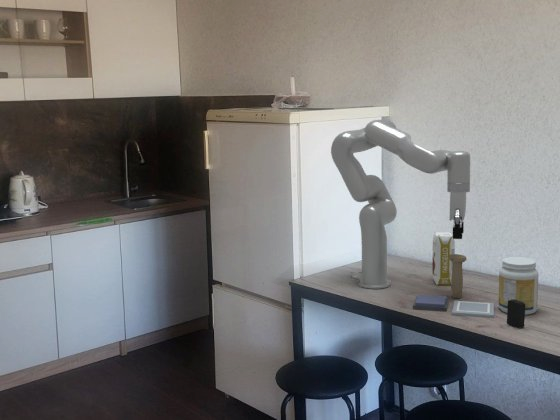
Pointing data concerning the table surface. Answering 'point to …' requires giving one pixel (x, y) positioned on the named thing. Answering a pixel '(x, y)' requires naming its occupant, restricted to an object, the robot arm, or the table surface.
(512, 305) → the ink cartridge
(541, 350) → the table surface
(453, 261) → the handle
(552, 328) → the table surface
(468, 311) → the marked board
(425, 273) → the table surface
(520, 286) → the supplement tub
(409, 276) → the table surface
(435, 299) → the ink pad
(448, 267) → the juice carton
